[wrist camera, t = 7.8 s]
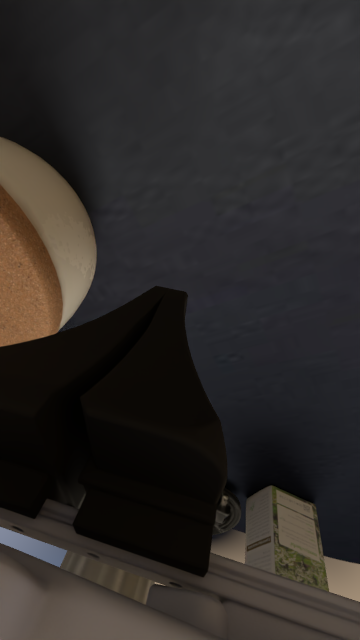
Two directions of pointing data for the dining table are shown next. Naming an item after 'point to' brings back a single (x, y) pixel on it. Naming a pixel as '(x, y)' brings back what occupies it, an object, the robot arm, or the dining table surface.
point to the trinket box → (40, 247)
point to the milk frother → (133, 583)
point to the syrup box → (284, 537)
